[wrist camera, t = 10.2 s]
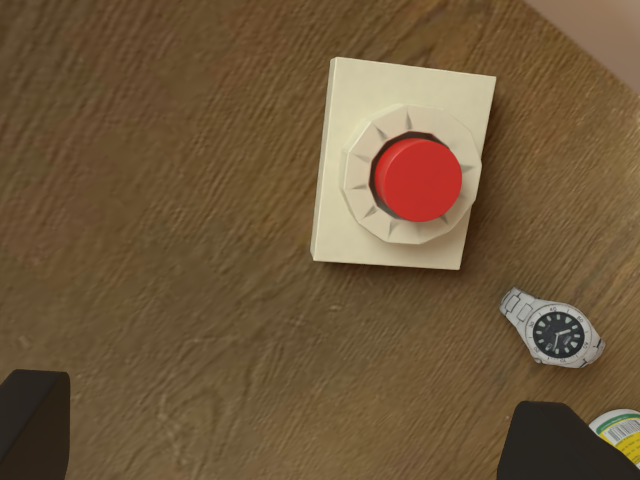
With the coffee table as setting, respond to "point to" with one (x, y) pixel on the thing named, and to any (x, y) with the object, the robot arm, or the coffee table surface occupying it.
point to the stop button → (418, 179)
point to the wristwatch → (552, 330)
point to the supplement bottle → (620, 431)
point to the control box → (369, 145)
